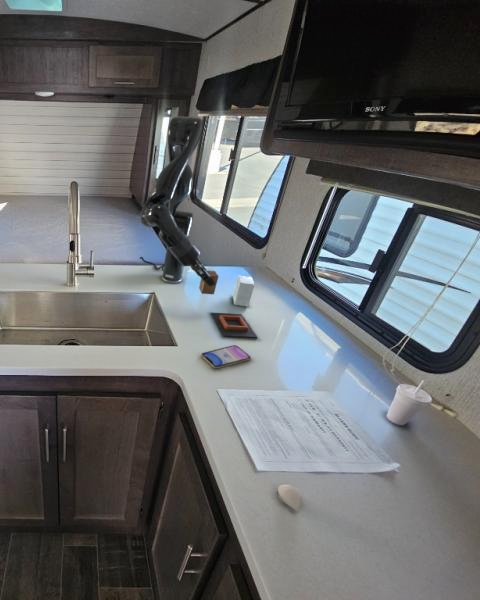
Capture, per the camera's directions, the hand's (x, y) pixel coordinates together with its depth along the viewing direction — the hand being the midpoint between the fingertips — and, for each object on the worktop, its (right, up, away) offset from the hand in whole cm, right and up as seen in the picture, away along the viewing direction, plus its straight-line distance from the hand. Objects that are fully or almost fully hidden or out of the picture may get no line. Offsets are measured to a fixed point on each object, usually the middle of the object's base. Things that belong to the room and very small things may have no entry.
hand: (210, 281), depth 118 cm
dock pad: (+10, -17, +4) cm, 20 cm away
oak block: (-1, -4, +2) cm, 4 cm away
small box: (+22, -8, +21) cm, 31 cm away
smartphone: (0, -26, -13) cm, 29 cm away
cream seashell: (-6, -48, -53) cm, 72 cm away
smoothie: (+35, -39, -34) cm, 62 cm away
